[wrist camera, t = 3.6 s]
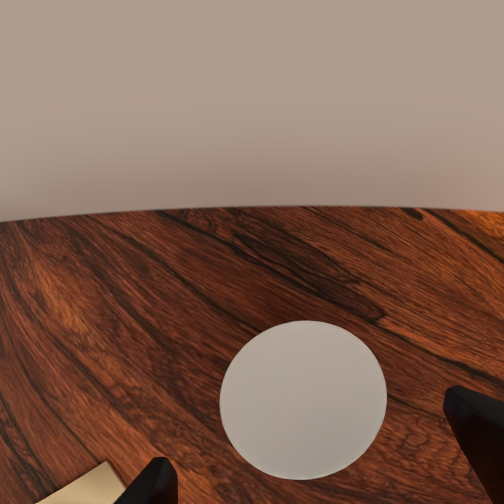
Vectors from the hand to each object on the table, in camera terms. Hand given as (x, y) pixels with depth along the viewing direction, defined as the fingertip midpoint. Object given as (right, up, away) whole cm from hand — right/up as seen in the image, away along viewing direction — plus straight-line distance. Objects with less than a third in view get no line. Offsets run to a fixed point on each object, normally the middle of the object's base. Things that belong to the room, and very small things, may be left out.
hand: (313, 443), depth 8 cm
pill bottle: (+1, -3, +8) cm, 9 cm away
